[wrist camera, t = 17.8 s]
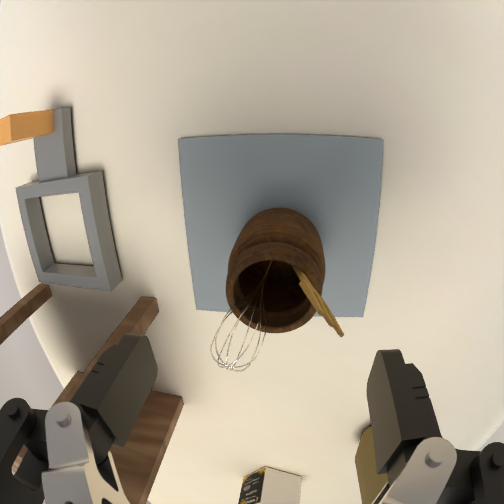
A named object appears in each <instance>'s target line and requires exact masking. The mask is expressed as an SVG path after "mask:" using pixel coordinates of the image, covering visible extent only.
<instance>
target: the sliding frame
mask: <svg viewBox="0 0 504 504" xmlns="http://www.w3.org/2000/svg"><path fill="white" fill-rule="evenodd" d="M32 138H34V149H35V158H36V166H37V174H38V180H39V181H35V182H30V183H27V184H24V185H22V186H19V187H16V193H17V199H18V204H19V209H20V214H21V218H22V223H23V227H24V231H25V235H26V239H27V243H28V246H29V250H30V254H31V257H32V261H33V264H34V267H35V270H36V273H37V277H38V280H39V282H45V283H52V284H59V285H66V286H74V287H81V288H89V289H97V290H106V291H112V290H113V289H114V288H115V287H116V286H117V285H118V284H119V283H120V282H121V280H122V278H121V274H120V269H119V265H118V260H117V256H116V251H115V246H114V241H113V236H112V231H111V226H110V220H109V214H108V208H107V202H106V196H105V189H104V181H103V174H102V171H98V172H90V173H83V174H76V168H75V159H74V150H73V140H72V127H71V110H70V107H62V108H59V109H56V110H45V111H35V112H26V113H18V114H11V115H8V116H6V117H4V118H2V119H0V146H2V145H6V144H10V143H14V142H18V141H23V140H27V139H32ZM77 192H79V196H80V202H81V208H82V214H83V219H84V224H85V229H86V234H87V238H88V243H89V247H90V251H91V256H92V260H93V264H94V266H82V265H69V264H57V263H54V260H53V256H52V253H51V249H50V245H49V241H48V237H47V233H46V229H45V224H44V220H43V215H42V210H41V205H40V200H39V197H43V196H51V195H59V194H68V193H77Z"/></svg>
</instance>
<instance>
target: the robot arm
mask: <svg viewBox="0 0 504 504" xmlns="http://www.w3.org/2000/svg"><path fill="white" fill-rule="evenodd" d="M156 377H157V364H156V361H155V358H154V355H153V352H152V349H151V346H150V342H149V339H148V338H147V337H146V336H143V335H136V334H130V333H127V334H125V335H124V336H123V338H122V339H121V341H120V342H119V344H118V345H115V344H114V345H112V346H111V347H110V348H108V349H107V350H106V351H104V352H103V354H102V355H101V356H100V358H99V359H98V361H97V364H95V365H94V366H93V368H92V369H91V372H89V374H88V375H87V377H86V378H85V380H84V381H83V382H82V384H81V385H80V387H79V388H78V390H77V391H76V393H75V394H74V396H73V397H72V399H71V400H70V402H61V403H58V404H55V405H54V406H52V407H51V408H50V410H38V409H31V408H30V406H29V405H28V404H27V402H26V401H25V400H24V399H21V398H13V399H11V400H9V401H7V402H6V403H5V404H4V405H3V407H2V408H1V410H0V504H42V503H43V501H44V499H45V502H46V504H130V502H129V501H128V500H127V498H126V496H125V494H124V492H123V489H122V486H121V483H120V480H119V477H118V474H117V471H116V468H115V464H114V461H113V458H112V454H111V452H110V448H111V446H112V444H114V445H117V446H120V447H124V445H125V443H126V441H127V439H128V437H129V435H130V432H131V430H132V428H133V426H134V424H135V422H136V420H137V418H138V416H139V413H140V411H141V409H142V407H143V405H144V403H145V401H146V399H147V397H148V395H149V393H150V391H151V388H152V386H153V384H154V382H155V380H156ZM367 400H368V406H369V413H370V420H371V427H372V435H373V443H374V451H375V460H376V470H377V474H385V473H387V477H388V482H387V483H386V485H385V486H384V487H383V489H382V490H381V492H380V493H379V494H378V496H377V497H376V498H375V500H374V501H373V502H372V504H504V444H503V443H500V442H494V443H491V444H489V445H487V446H486V447H485V448H484V449H483V450H482V451H467V450H458V449H455V448H454V446H453V445H452V444H451V443H450V442H449V441H448V440H446V439H444V438H442V436H441V433H440V430H439V426H438V423H437V419H436V416H435V413H434V409H433V406H432V403H431V400H430V398H429V394H428V391H427V388H426V385H425V382H424V379H423V376H422V373H421V372H420V371H419V370H418V369H417V368H416V367H415V365H414V364H413V363H411V364H405V362H404V359H403V356H402V353H401V351H400V350H399V349H395V350H378V351H377V353H376V356H375V359H374V363H373V366H372V369H371V372H370V375H369V378H368V382H367ZM23 446H24V447H25V448H26V449H27V452H26V454H25V456H24V457H23V459H22V461H21V463H20V465H19V467H18V469H17V471H16V473H15V475H13V474H12V465H13V463H14V461H15V460H16V458H17V456H18V454H19V452H20V450H21V448H22V447H23Z"/></svg>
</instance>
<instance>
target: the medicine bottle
mask: <svg viewBox="0 0 504 504" xmlns="http://www.w3.org/2000/svg"><path fill="white" fill-rule="evenodd" d="M301 479H302V478H301V476H297V475H293V474H289V473H286V472H282V471H279V470H275V469H272V468H268V467H264V468H262V469H260V470H258V471H256V472H254V473H252V474H250V475H248V476H246V477H244V478H243V483H242V488H241V493H240V498H239V503H238V504H300V493H301Z"/></svg>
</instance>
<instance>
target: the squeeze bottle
mask: <svg viewBox="0 0 504 504" xmlns="http://www.w3.org/2000/svg"><path fill="white" fill-rule="evenodd" d="M355 464H356V469H357V475H358V481H359V487H360V492H361V499H362V504H372V502H373V501H374V500H375V498H376V497H377V496H378V494H379V493H380V492H381V490H382V489H383V487H384V486H385V485H386V483H387V482H388V477H387V473H385V474H377V470H376V460H375V451H374V443H373V435H372V427H371V426H370V427H369V428H367V429H366V430H365V431H364V432H363V433H362V436H361V439H360V443H359V446H358V449H357V453H356V456H355Z"/></svg>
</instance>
